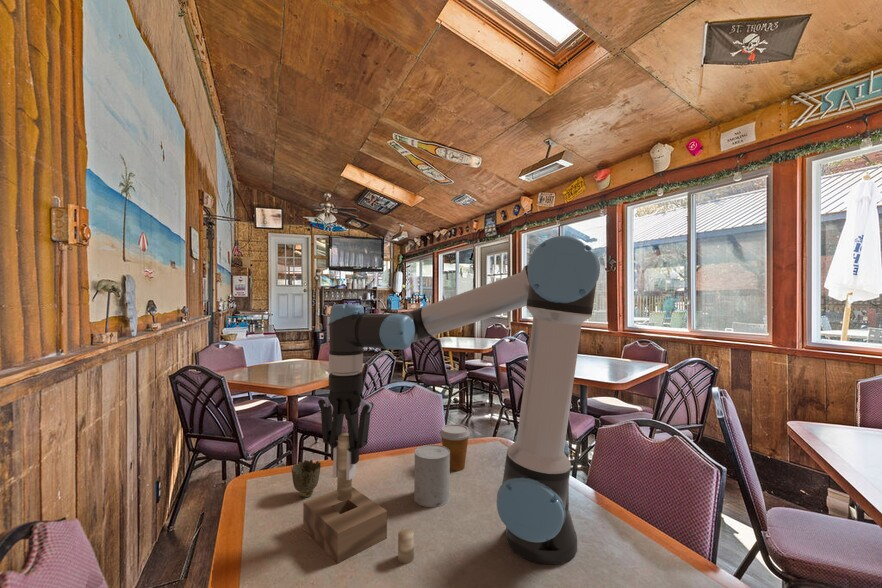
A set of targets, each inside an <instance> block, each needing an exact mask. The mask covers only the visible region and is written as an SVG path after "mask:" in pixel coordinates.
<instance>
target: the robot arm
mask: <svg viewBox="0 0 882 588" xmlns="http://www.w3.org/2000/svg"><path fill="white" fill-rule="evenodd" d="M600 263H601V262H600V259H599V257H598V255H597V253H596V251H595V249H594V248H593V247H592V246H591V245H590V244H589V243H587V242H586V241H584V240H582V239H581V238H578V237H576V236H573V235H572V236H571V235H557V236H554V237H550V238H547V239H546V240H544V241H542V242H541V243H540V244H539V245H538V246H537V247H536V248H535V249H534V250H533V251H532V253H531V254H530V257H529V260H528V263H527V265H524V266H523V268H522V269H521V271H520V272H518V273H515V274H512V275H509V276H507V277H503V278H501V279H498V280H494V281H492V282H490V283H487V284H484V285H481V286H479V287H476V288H472V289H470V290H467V291H464V292H461V293H459V294H456V295H453V296H450V297H447V298H445V299H442V300H439V301H436V302H433V303H430V304H428V305H424V306H423V307H419V308H416V309H413V310H410V311H407V312H398V313H397V312H396V313H394V312H393V313H365V309H364V306H363V305H362V304H353V303H352V304H348V303H347V304H345V303H344V304H343V303H341V304H334V305H332V306H331V307H330V310H329V311H330V313H329V314H330V315H329V322H328V326H329V327H328V329H329V332H328V333H329V350H328V351H329V352H328V353H329V354H328V371H329V372H330V373H329V375H328V391H329V393H328V395H327V397H323V398H321V399H318V401H317V403H318V406H319V408H320V415H321V418H320V420H321V428H322V429H321V432H322V443H324V444H327V445H329V446H330V460H331V461H332V463H333V464H332V477H333V478H335V479H336V478H337V471H338V435H339V434H342V433H343V432H342V431H343V423H344V417H345V419H346V424H347V433H348V435H349V444H350V448H349V449H348V450H347V462H346V480H350V479H351V478H352V479H353V478H354V477H355V476H356V475H357V473H356V472H357V464H358V463H359V461H360V449H362V448H363V447H365V446H367V444H368V440H369V431H370V429H369V428H370V421H371V420H370V419H371V412H372V410H373V408H374V406H375V405H374V402H371V401H370V402H368V401H367V400H365V399H364V395H363V393H362V392H363V385H364V383H363V381H364V380H363V379H364V378H363V377H364V376H363V375H364V374H363V373H362V371H363V367H364V359H363V358H364V348H373V349H386V350H390V351H395V350H406V349H409V348H410V346H411V345H412V344H413V343H418V342H421V341H424V340H426V339H428V338H431V337H434V336H437V335H439V334H442V333H445V332H449V331H453V330H455V329H459V328H461V327H465V326H468V325H472V324H474V323H476V322H477V323H478V322H480V321H483V320H487V319H490V318H493V317H496V316H499V315H502V314H505V313H509V312H512V311H516V310H517V309H521V308H525V307H526V310H528V311H529V314H531V316H532V325H531V330H530V331H531V332H530V339H529V346H528V347H529V348H528V356H527V360H526V361H527V362H526V369H525V376H524V384H523V391H522V398H521V406H520V414H519V419H518V420H519V421H518V429H517V435H515V437H514V442H513V443H511V444H510V445H509V446H508V447H507V449H506V456H505V463H504V470H503V478H502V483H501V485H500V486H499V488H498V490H497V495H496V509H497V513H498V516H499V518H500V520H501V522H502V523H503V525H504V526H505V539H506V543H507V545H508V547H510V549H511V550H512V551H514V553H515V554H517V555H518V556H520V557H522V558H523V559H526V560H527V561H531V562H534V563H538V564H543V565H558V564H562V563H567V562H569V561H570V560H571V559H573V558H574V557H575V556H576V554H577V552H578V534H577V532H576V529H575V526H574V523H573V520H572V517H571V516H572V515H571V512H570V510H569V509H570V508H569V507H570V505H569V504H570V502H569V501H570V499H569V497H570V493H569V492H570V490H569V488H570V475H571V470H572V469H571V467H572V463H571V461H570V455H571V453H570V448H569V446H570V445H569V443H568V441H567V440H566V439H567V430H568V424H569V418H570V412H571V411H570V409H571V404H572V403H571V402H572V397H573V389H574V381H575V374H576V366H577V359H578V353H579V352H578V351H579V345H580V339H581V331H582V325H583V323H584V322H586V321H588V320H589V319H590V318H591V317H592V316H593V310H594V305H595V304H594V303H595V296H596V289H597V284H598V280H599V277H600V273H601V272H600V271H601V264H600ZM359 408H360V409H359ZM359 410H360V415H359ZM358 416H359V418H358ZM358 419H359V420H358Z"/></svg>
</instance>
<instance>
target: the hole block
mask: <svg viewBox="0 0 882 588" xmlns="http://www.w3.org/2000/svg"><path fill="white" fill-rule="evenodd" d="M302 507H303V509H302V510H303V511H302V514H303V515H302V518H303V519H302V529H303V530H304V531H305V532H306V533H307V534H308V535H309V536H310V537H311V539H312V540H314V542H316V544H318V546H320V547H321V549H323V550H324V552H325V553H326V554H327V555H329V557H330V558H332V560H334V561H335V562H336V564H340V563H341V562H342V563H343V562H344V561H346V560H348V559H349V558H351V557H353V556H355V555H357V554H359V553H362V552H363V551H365V550H367V549H369V548H370V547H372V546H375V545H376V544H379V543H380V542H382V541H384V540H386V539H387V538H388V510H387V509H386V508H384V507H382V506H381V505H380V504H378V503H376V502H375V501H374V500H372V499H371V498H369V497H367V496H366V495H365V494H363V493H362V492H360V491H359V490H357V489H356V488H354V487H353V486H352V497H351V499H349V500H347V501H339V500H338V499H337V489H336V490H333V491H330V492H328V493H325V494H323V495H319V496H316V497H315V498H311V499H309V500H306V501H303V506H302Z"/></svg>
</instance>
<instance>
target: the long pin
mask: <svg viewBox="0 0 882 588" xmlns="http://www.w3.org/2000/svg"><path fill="white" fill-rule="evenodd" d="M349 448H350V444H349V435H348V432H341V434H339V435H338V471H337V477H336V478H337V479H336V480H337V481H336V482H337V483H336V485H337V486H336V488H337V489H336V490H337V499H338V500H339V501H347V500H349V499H351V497H352V487H353V478H351V479H350V480H346V462H347V450H348V449H349Z"/></svg>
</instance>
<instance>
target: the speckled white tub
mask: <svg viewBox="0 0 882 588" xmlns="http://www.w3.org/2000/svg"><path fill="white" fill-rule="evenodd" d="M450 471H451V470H450V450H449V449H448V448H446V447H444V446H442V444H441V445H440V444H426V445H421V446H418V447H417V448H415V450H414V490H413V491H414V493H413V494H414V495H413V500H414V502H415V503H416V504H418V505H419V506H421V507H425V508H438V507H442V506H444V505H446V504H447V503H449V501H450V497H451V495H450V484H451V483H450Z"/></svg>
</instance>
